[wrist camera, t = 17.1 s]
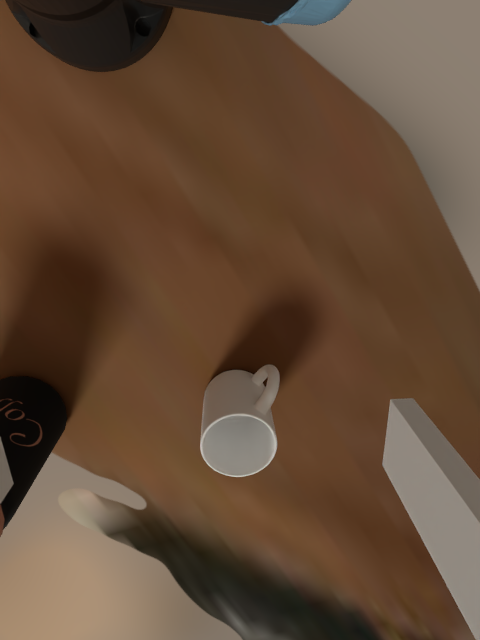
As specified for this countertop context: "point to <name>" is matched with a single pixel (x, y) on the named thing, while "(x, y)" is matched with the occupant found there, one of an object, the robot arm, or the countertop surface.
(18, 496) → the coffee jar
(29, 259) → the countertop surface
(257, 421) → the mug
